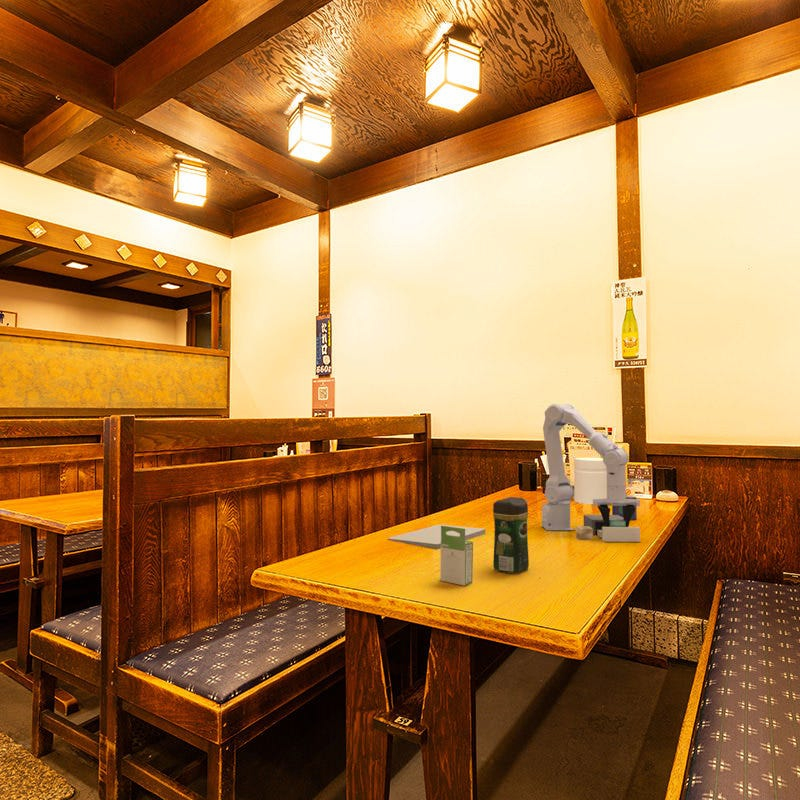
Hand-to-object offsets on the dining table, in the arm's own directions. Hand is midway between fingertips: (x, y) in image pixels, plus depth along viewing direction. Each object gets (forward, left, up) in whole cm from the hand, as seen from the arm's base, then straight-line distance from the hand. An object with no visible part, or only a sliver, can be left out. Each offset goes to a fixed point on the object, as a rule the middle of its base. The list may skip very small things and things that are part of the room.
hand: (616, 528), depth 176 cm
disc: (0, 0, 0) cm, 1 cm away
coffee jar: (-41, -36, -4) cm, 55 cm away
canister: (+18, +77, -4) cm, 79 cm away
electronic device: (-58, +2, -4) cm, 58 cm away
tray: (0, +1, -4) cm, 4 cm away
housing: (0, +10, -4) cm, 10 cm away
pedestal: (-10, +1, -4) cm, 11 cm away
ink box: (-56, -47, -4) cm, 73 cm away
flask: (+16, +34, -4) cm, 38 cm away
